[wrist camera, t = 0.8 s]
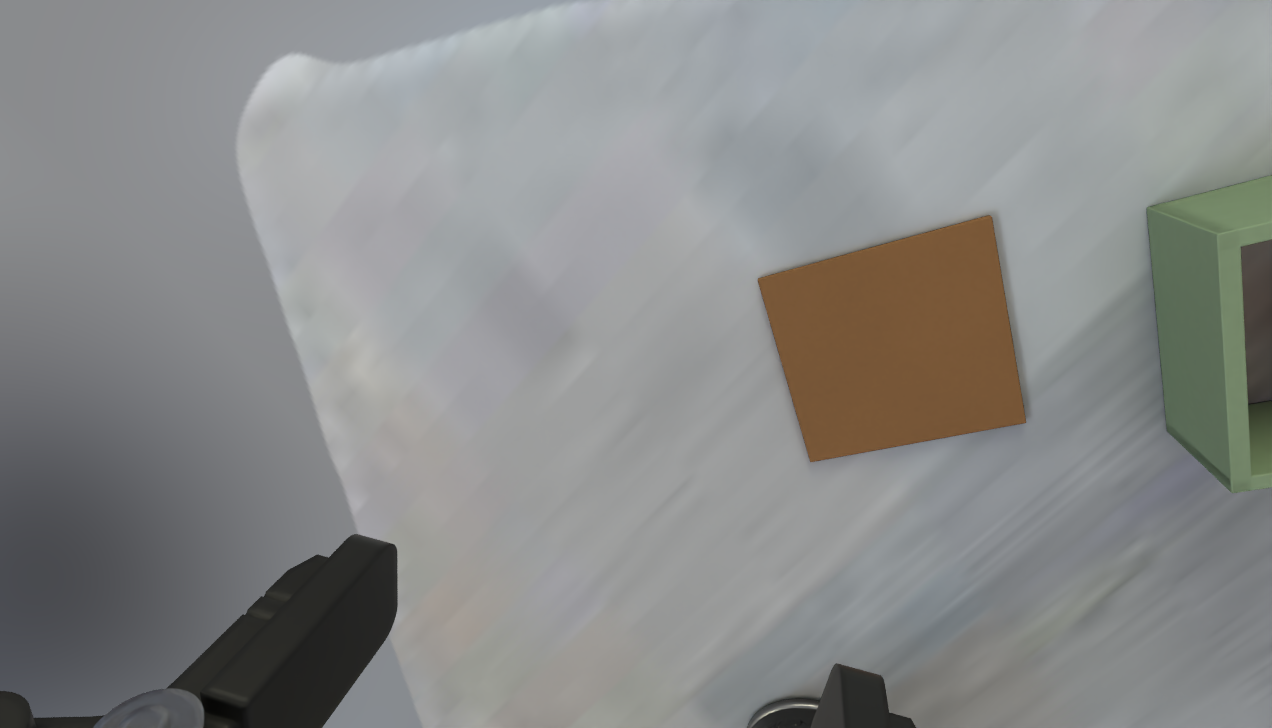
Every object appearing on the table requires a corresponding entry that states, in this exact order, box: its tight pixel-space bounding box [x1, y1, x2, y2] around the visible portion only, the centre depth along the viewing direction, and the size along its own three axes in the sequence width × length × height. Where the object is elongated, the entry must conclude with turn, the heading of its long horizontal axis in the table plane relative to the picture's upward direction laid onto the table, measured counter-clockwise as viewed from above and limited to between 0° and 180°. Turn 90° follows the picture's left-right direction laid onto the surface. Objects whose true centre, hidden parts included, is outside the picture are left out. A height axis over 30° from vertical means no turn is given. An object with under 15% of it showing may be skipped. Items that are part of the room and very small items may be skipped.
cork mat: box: [758, 215, 1026, 462], centre depth 38 cm, size 12×12×1 cm
